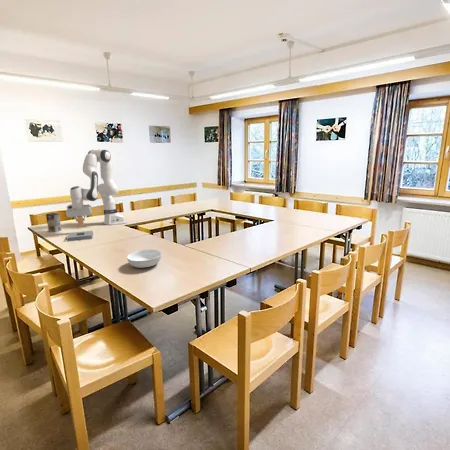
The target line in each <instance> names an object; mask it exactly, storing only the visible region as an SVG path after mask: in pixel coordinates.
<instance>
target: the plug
mask: <svg viewBox="0 0 450 450" xmlns="http://www.w3.org/2000/svg"><path fill="white" fill-rule="evenodd" d="M83 218H84V216H76V219H77V221H76V222H77V225H78V227H79V226H80V227H81V226H84V224H85V223H84V221H83Z"/></svg>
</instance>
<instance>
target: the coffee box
mask: <svg viewBox="0 0 450 450" xmlns="http://www.w3.org/2000/svg"><path fill="white" fill-rule="evenodd" d="M45 217H46V223H47V224H46V225H47V231H48V232H51V233H57V232H58V233H59V232H61V231H62V225H61V219H60V218H61V217H60V213H59V212H58V213H55V212H50V213H46V214H45Z"/></svg>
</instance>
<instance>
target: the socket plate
mask: <svg viewBox="0 0 450 450" xmlns="http://www.w3.org/2000/svg"><path fill="white" fill-rule="evenodd" d="M93 237H94V230H84V231H83V230H82V231H73V232H69V233H68V235H67V237H66V238H67V242H76V241H84V240H92V239H93Z"/></svg>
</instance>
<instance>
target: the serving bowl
mask: <svg viewBox="0 0 450 450" xmlns="http://www.w3.org/2000/svg"><path fill="white" fill-rule="evenodd" d="M126 258H127V262H128V264H129V265H130V266H132V267H134V268H141V269H142V268H143V269H144V268H149V267H153V266H155V265H157V264H159V262H160V261H161V259H162V252H161V251H160V250H158V249H141V250H136V251H133V252H131V253H129V254H127V256H126Z"/></svg>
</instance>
